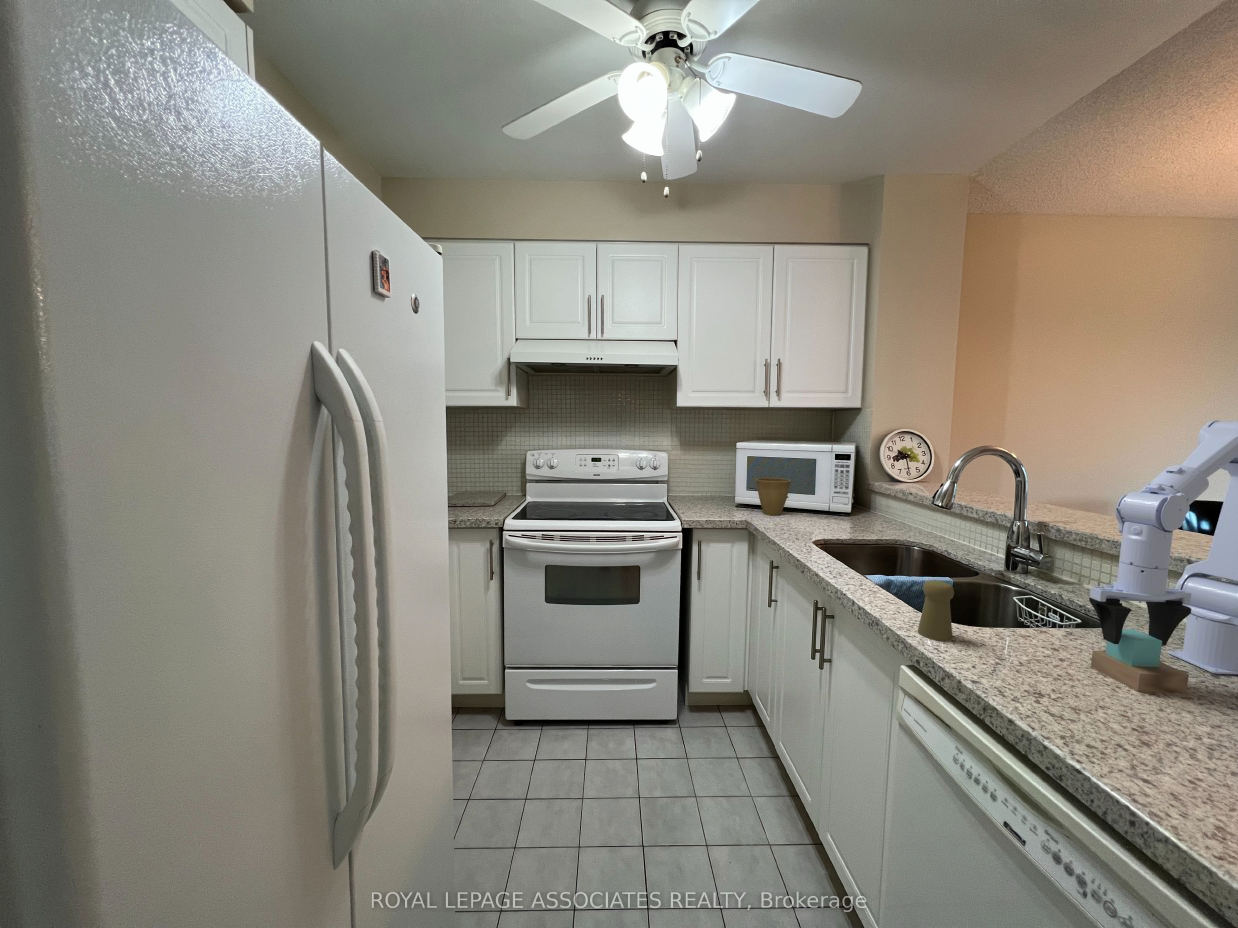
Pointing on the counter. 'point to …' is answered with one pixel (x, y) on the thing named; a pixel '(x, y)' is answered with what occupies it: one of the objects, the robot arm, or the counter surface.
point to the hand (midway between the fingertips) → (1134, 642)
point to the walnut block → (1141, 674)
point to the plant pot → (773, 494)
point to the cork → (936, 611)
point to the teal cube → (1136, 649)
